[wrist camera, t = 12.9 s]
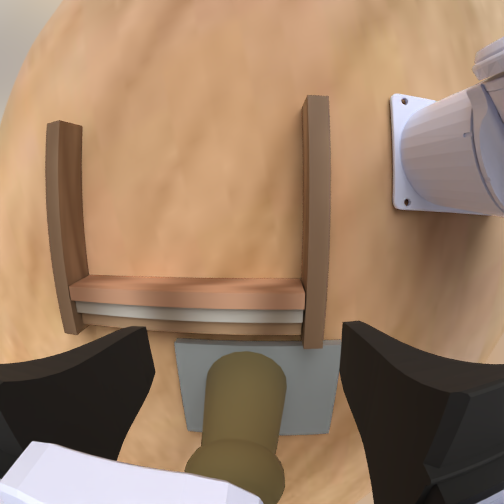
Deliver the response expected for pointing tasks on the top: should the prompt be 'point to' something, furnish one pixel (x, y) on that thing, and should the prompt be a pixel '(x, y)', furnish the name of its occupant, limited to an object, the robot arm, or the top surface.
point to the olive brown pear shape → (243, 425)
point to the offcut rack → (191, 289)
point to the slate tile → (293, 365)
